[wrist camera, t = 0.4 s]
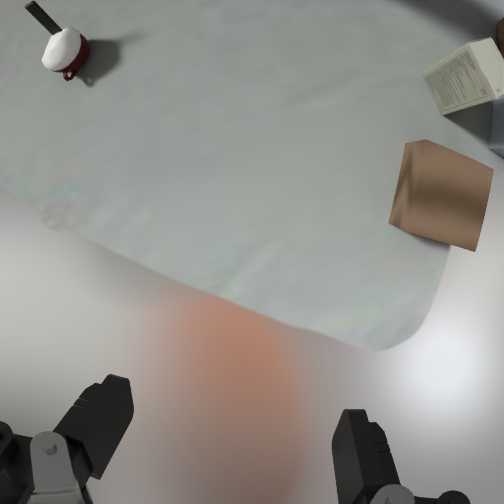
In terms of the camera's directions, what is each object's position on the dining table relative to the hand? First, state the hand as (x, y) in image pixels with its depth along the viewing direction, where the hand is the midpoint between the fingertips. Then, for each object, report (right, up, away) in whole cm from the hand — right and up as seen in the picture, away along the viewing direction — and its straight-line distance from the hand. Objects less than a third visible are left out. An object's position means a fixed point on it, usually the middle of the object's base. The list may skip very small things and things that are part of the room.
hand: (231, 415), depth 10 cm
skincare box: (+25, +27, +20) cm, 42 cm away
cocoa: (-24, +34, +22) cm, 47 cm away
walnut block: (+23, +13, +24) cm, 36 cm away
